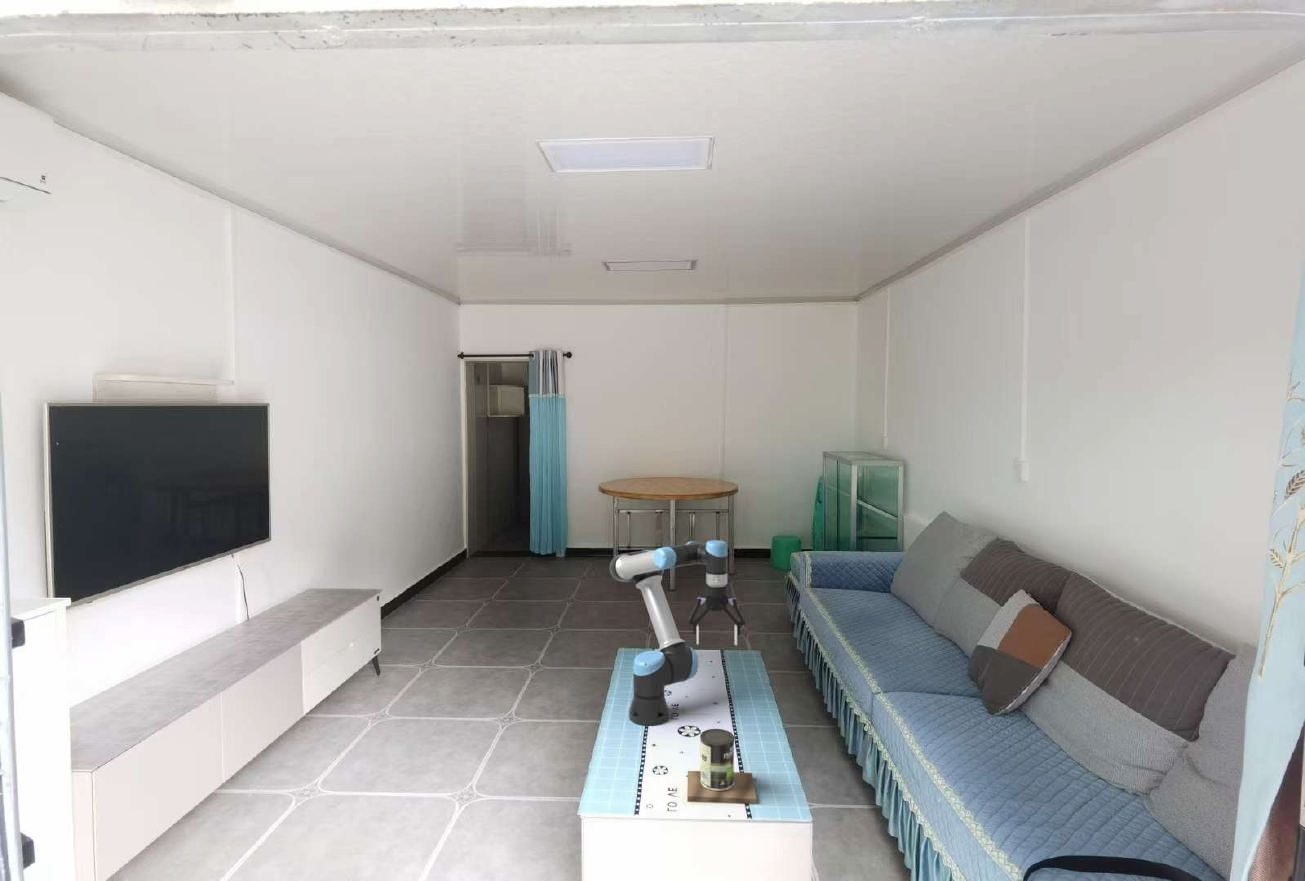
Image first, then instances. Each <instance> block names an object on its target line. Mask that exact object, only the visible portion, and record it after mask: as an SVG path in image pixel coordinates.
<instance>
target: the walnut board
mask: <svg viewBox="0 0 1305 881" xmlns="http://www.w3.org/2000/svg"><path fill="white" fill-rule="evenodd" d="M700 779H701V770H687V792H686V793H687V796H686V797H687V798H686V799H687V802H692V803H693V802H694V803H695V802H696V803H718V804H719V803H720V804H721V803H723V804H726V803H727V804H744V805H745V804H750V805H757V794H756V789H755V783H754V777H753V773H752V772H738V771H737V772H735V771H734V785H733V786H732V787H731V788H730V789H728V790H725V791H713V790H709V789H707V788H705V787H704V786H702V784H701V782H700Z"/></svg>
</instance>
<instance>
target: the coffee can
mask: <svg viewBox="0 0 1305 881" xmlns="http://www.w3.org/2000/svg"><path fill="white" fill-rule="evenodd" d="M699 738H700V771H701V779H700V782H701V784H702V786H704V787H705V788H707V789H709V790H713V791H725V790H728V789H730V788H731V787H732V786H733V785H734V772H735V771H734V769H735V763H734V762H735V760H734V758H735V753H734V752H735V735H734V734H733V732H731V731H729V730H726V729H722V728H709V729H706V730H704V731H702V732H701V733H700V735H699Z"/></svg>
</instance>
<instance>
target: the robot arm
mask: <svg viewBox="0 0 1305 881" xmlns="http://www.w3.org/2000/svg"><path fill="white" fill-rule="evenodd" d="M728 555H729V552H728V544H727V542H726V541H723V540H717V539H715V540H714V539H712V540H708V541H706V543H702V542H700V541H694V540H693V541H692V540H691V541H688V542H687V543H685V544H679V545H673V546H663V547H660V548H656V549H654V550H653V549H650V550H648V549H646V550H645V549H644V550H641V551H634V552H633V551H631V552H625V553H621V554H618V555H616V556H614V557H613V558H612V560H611V561H610V564H609V573H610V575H611V577H612V578H613V579H614V580H616V581H618V582H622V583H630V582H634V585H635V588H636V589H639V590H640V592H641V595H642V597H643V600H644V604H645V606H646V608H647V609H646V610H647V612H648V615H649V617H650V618H649V619H650V621H651V623H652V628H653V630H654V632H655V633H654V634H655V636H656V638H657V642H658V644H659V647H658V650H646V651H642V652H640V653H638V654H636V656H635V658H634V660H633V667H632V672H633V697H632V700H631V703H630V707H629V709H628V719H629V721H631V722H633V723H634V724H636V725H640V726H657V725H658V726H659V725H661V724H664V723H666V722H668V720H669V719H670V709H669V706H668V703H667V700H666V697H665V687H666V686H669V685H675V684H676V683H680V682H685V681H688V680H690V679H693V678H694V677H695V676H696V675H697V672H698V668H699V657H698V655H697V652H696V650H695V649H693V647H691V646H688V644H687V643H686V640H684V639H682V638H681V637H680V634H679V631H678V629H677V626H676V623H675V619H674V618H673V614H672V612H671V609H670V605H669V603H668V600H667V597H666V595H665V591H664V588H663V586H662V583H661V581H662V579H663V574H664V572H665V570H667V569H673V568H679V567H684V566H685V567H686V566H691V565H692V566H693V565H702V566H706V567H705V568H706V570H705V571H706V572H705V574H706V576H705V578H706V579H705V580H706V581H705V582H706V586H705V588H706V589H705V591H706V593H705V595H706V596H705V597H701V596H698V597H697V600H696V601H697V602H696V604H695V606H694V609H693V610H692V612H691V614H690V616H689V618H688V624H689V625H691V626H693V627H692V628H693V635H696V645H699V643H700V641H699V640H700V638H699V637H700V636H699V635H700V634H699V633H700V630H699V629H700V628H699V626H700V624H699V623H700V622H701V621H702V619H703V618H704V617H706V616H707V614H708V613H709V612H710V611H712V612H722V611H724V612H725V613H726V614H727V616H728V617H729V618H730V619H731V621H732V622H734V646H738V636H740V635H741V626H745V625H746V620H745V618H744V616H743V614H742V612H741V610H740V608H739V606H738V604H737V598H736V597H732V598H729V597H728V585H727V584H728ZM704 603H705V605H706V606H705V607H704V609H703V610H702V611H701V612H700V614H698V612H699V609H700V607H701V605H703V604H704ZM729 603H730V605H732V606H733V609H734V611H735V612H736V615H737V616H735V615H734V614H733V613H732V611H731V610H730V609H729V607H728V606H727V605H728V604H729ZM697 614H698V615H697ZM696 615H697V617H696ZM737 617H738V618H739V620H738V618H737Z"/></svg>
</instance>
